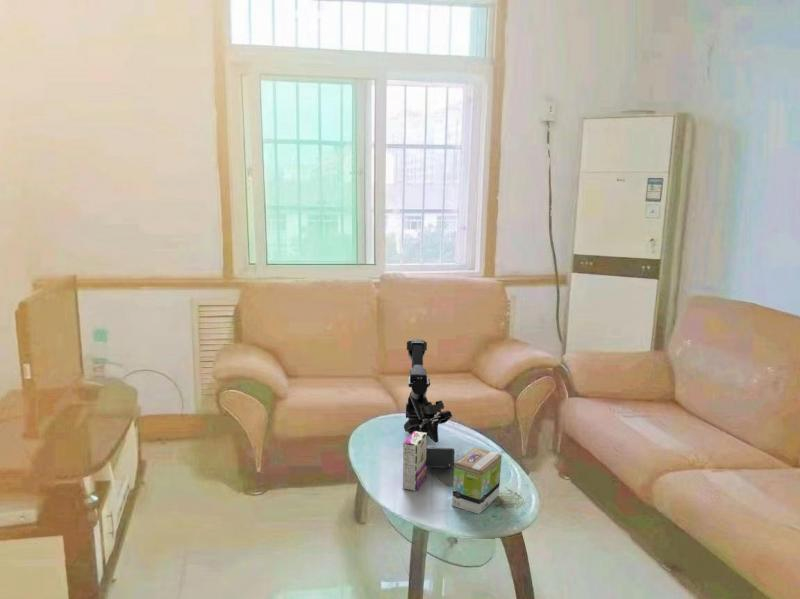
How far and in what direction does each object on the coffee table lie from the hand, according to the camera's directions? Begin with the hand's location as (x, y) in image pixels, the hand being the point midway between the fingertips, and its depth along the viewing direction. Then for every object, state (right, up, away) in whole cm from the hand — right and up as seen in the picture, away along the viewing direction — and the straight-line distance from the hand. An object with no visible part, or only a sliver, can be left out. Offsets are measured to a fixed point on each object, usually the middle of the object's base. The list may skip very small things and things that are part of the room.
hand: (436, 442), depth 227 cm
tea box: (+11, -12, -29) cm, 33 cm away
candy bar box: (-9, -10, -18) cm, 22 cm away
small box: (+1, -4, -4) cm, 6 cm away
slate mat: (+7, -9, -11) cm, 15 cm away
